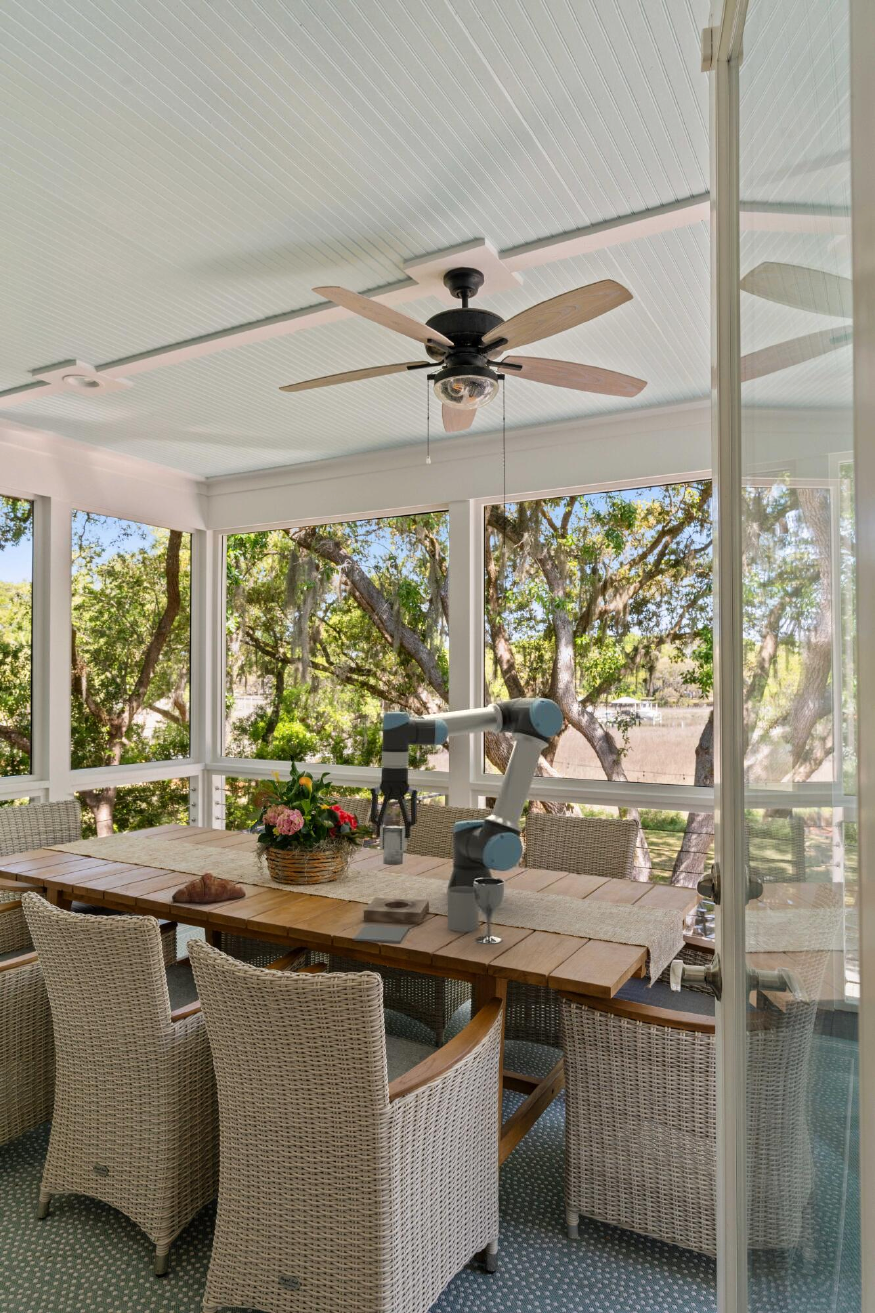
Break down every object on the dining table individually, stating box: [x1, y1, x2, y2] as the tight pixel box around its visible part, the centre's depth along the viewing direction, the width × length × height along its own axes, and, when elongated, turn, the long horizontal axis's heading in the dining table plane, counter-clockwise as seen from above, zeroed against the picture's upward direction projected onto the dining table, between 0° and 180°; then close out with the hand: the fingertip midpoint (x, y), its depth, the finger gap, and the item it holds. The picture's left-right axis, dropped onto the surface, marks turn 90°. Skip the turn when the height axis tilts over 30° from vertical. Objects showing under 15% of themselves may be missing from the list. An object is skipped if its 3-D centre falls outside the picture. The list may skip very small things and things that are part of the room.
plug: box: [382, 825, 404, 866], centre depth 233 cm, size 6×6×10 cm
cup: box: [447, 886, 480, 933], centre depth 225 cm, size 8×8×10 cm
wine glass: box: [474, 877, 505, 945], centre depth 214 cm, size 8×8×15 cm
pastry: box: [171, 872, 247, 905], centre depth 253 cm, size 17×15×8 cm
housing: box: [363, 897, 430, 925], centre depth 236 cm, size 16×14×3 cm
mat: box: [353, 924, 410, 944], centre depth 217 cm, size 12×12×1 cm
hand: (393, 849), depth 233 cm, fingers closed on plug, 6 cm apart
